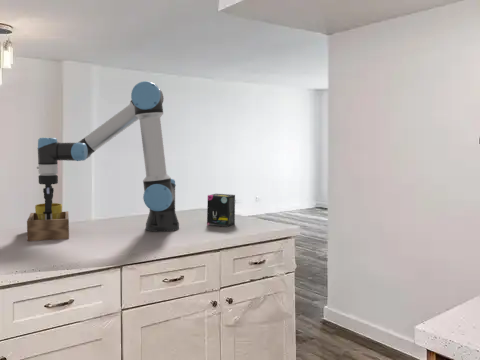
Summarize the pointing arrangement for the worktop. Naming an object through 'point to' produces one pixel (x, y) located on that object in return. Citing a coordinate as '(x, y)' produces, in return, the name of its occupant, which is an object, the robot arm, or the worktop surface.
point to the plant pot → (55, 210)
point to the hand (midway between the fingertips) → (49, 226)
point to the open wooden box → (47, 228)
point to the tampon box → (221, 210)
